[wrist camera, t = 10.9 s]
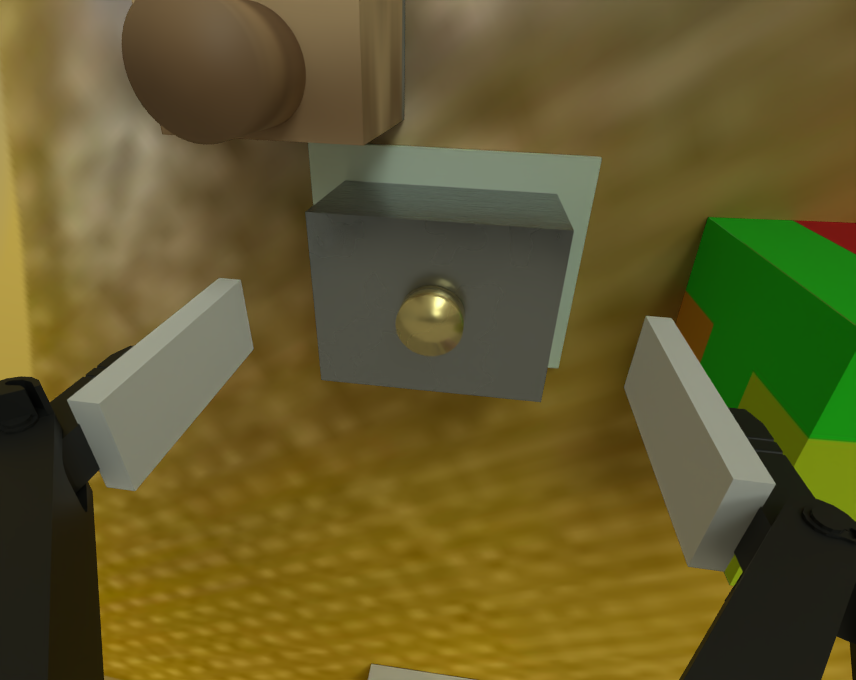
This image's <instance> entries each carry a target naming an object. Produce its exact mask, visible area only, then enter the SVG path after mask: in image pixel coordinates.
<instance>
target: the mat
mask: <svg viewBox="0 0 856 680" xmlns="http://www.w3.org/2000/svg"><path fill="white" fill-rule="evenodd" d="M308 150H309V162H310V173H311V185H312V196H313V205H315V204H316V203H317V202H318V201H320V200H321V199H322V198H323V197H325V196H326V195H327V194H328V193H330V192H331V191H332V190H333V189H335V188H336V187H337V186H339V185H340V184H341V183H342V182H344V181H361V182H377V183H393V184H409V185H425V186H440V187H456V188H472V189H488V190H504V191H520V192H536V193H551V194H557V195H558V197H559V199H560V201H561V203H562V206H563V208H564V210H565V212H566V214H567V216H568V219H569V221H570V223H571V225H572V227H573V229H574V234H573V239H572V244H571V249H570V254H569V259H568V265H567V270H566V275H565V280H564V285H563V290H562V296H561V301H560V306H559V311H558V316H557V321H556V327H555V332H554V337H553V342H552V347H551V352H550V358H549V363H548V367H549V368H559V363H560V358H561V353H562V348H563V343H564V339H565V334H566V329H567V324H568V319H569V314H570V310H571V305H572V300H573V295H574V290H575V286H576V281H577V276H578V271H579V266H580V261H581V257H582V252H583V247H584V242H585V237H586V233H587V228H588V223H589V218H590V213H591V208H592V204H593V199H594V194H595V189H596V184H597V180H598V175H599V170H600V165H601V160H602V158H601V157H597V156H579V155H561V154H543V153H525V152H508V151H490V150H472V149H454V148H437V147H419V146H401V145H383V144H365V145H364V146H360V145H343V144H325V143H308Z"/></svg>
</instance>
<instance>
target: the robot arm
mask: <svg viewBox="0 0 856 680" xmlns="http://www.w3.org/2000/svg"><path fill="white" fill-rule="evenodd" d="M253 349H254V348H253V343H252V337H251V332H250V327H249V321H248V316H247V311H246V305H245V300H244V295H243V289H242V284H241V280H237V279H226V278H218V279H217V280H216V281H215V282H213V283H212V284H211V285H210V286H208V287H207V288H206V289H205V290H203V291H202V292H201V293H200V294H198V295H197V296H196V297H195V298H193V299H192V300H191V301H190V302H188V303H187V304H186V305H185V306H183V307H182V308H181V309H180V310H178V311H177V312H176V313H175V314H173V315H172V316H171V317H170V318H168V319H167V320H166V321H165V322H163V323H162V324H161V325H160V326H158V327H157V328H156V329H155V330H153V331H152V332H151V333H150V334H148V335H147V336H146V337H145V338H143V339H142V340H141V341H140V342H138V343H137V344H136V345H135V346H129V347H127V348H125V349H123V350H120V351H118V352H116V353H114V354H112V355H110V356H109V357H108V358H107V359H105V360H104V361H103V362H101V363H100V364H99V365H98V366H97V368H94V369H92V370H91V371H90V372H89V373H87V374H86V377H82V378H81V379H80V380H78V381H77V382H76V383H74V384H73V385H72V386H71V387H69V388H68V389H67V390H65V391H64V392H63V393H62V394H60V395H59V396H58V397H56V398H55V399H54V400H53V401H51V402H49V400H48V398H47V396H46V394H45V392H44V390H43V388H42V386H41V384H40V382H39V380H37V379H35V378H32V377H14V378H8V379H4V380H1V381H0V680H104V672H103V656H102V639H101V623H100V607H99V590H98V574H97V557H96V541H95V525H94V508H93V492H92V489H91V487H90V485H89V483H88V481H89V480H90V479H91V478H92V477H93V476H94V475H95V474H96V472H97V471H98V470H99V471H100V473H101V476H102V478H103V480H104V482H105V484H106V487H110V488H117V489H125V490H132V491H136V490H137V488H138V487H139V486H140V485H141V484H142V482H143V481H144V480H145V479H146V478H147V476H148V475H149V474H150V473H151V472H152V470H153V469H154V468H155V467H156V466H157V464H158V463H159V462H160V461H161V460H162V458H163V457H164V456H165V455H166V454H167V452H168V451H169V450H170V449H171V448H172V446H173V445H174V444H175V443H176V442H177V440H178V439H179V438H180V437H181V436H182V434H183V433H184V432H185V431H186V430H187V428H188V427H189V426H190V425H191V424H192V422H193V421H194V420H195V419H196V418H197V416H198V415H199V414H200V413H201V412H202V410H203V409H204V408H205V407H206V406H207V404H208V403H209V402H210V401H211V400H212V398H213V397H214V396H215V395H216V394H217V393H218V391H219V390H220V389H221V388H222V387H223V385H224V384H225V383H226V382H227V381H228V379H229V378H230V377H231V376H232V375H233V373H234V372H235V371H236V370H237V369H238V367H239V366H240V365H241V364H242V363H243V361H244V360H245V359H246V358H247V357H248V355H249V354H250V353H251V352H252V351H253ZM624 389H625V392H626V395H627V398H628V400H629V403H630V406H631V409H632V411H633V414H634V417H635V420H636V423H637V425H638V428H639V431H640V434H641V437H642V439H643V442H644V445H645V448H646V451H647V453H648V456H649V459H650V462H651V465H652V467H653V470H654V473H655V476H656V479H657V481H658V484H659V487H660V490H661V493H662V495H663V498H664V501H665V504H666V507H667V509H668V512H669V515H670V518H671V521H672V523H673V526H674V529H675V532H676V535H677V537H678V540H679V543H680V546H681V549H682V551H683V554H684V557H685V560H686V562H687V565H688V567H695V568H702V569H709V570H717V571H725V570H726V568H727V566H728V564H729V563H730V561H731V559H732V558H733V556H734V554H735V556H736V558H737V560H738V563H739V565H740V567H741V569H742V571H743V572H742V574H741V575H740V577H739V579H738V580H737V582H736V583H735V585H734V587H733V588H732V590H731V591H730V593H729V595H728V596H727V598H726V599H725V602H724V604H723V606H722V608H721V609H720V611H719V613H718V614H717V616H716V618H715V620H714V621H713V623H712V625H711V626H710V628H709V630H708V631H707V633H706V635H705V637H704V638H703V640H702V642H701V643H700V645H699V647H698V649H697V650H696V652H695V654H694V655H693V657H692V659H691V660H690V662H689V664H688V666H687V667H686V669H685V671H684V672H683V674H682V676H681V678H680V679H679V680H821V678H822V675H823V673H824V670H825V667H826V664H827V661H828V658H829V656H830V653H831V650H832V647H833V644H834V641H835V639H836V636H837V637H839V638H842V639H844V640H847V641H849V642H850V652H851V665H852V677H853V680H856V521H854V520H853V519H852V518H851V517H850V516H849V515H848V514H846V513H845V512H843V511H842V510H840V509H838V508H837V507H835V506H834V505H831V504H829V503H826V502H824V501H822V500H819V499H815V497H814V496H813V494H812V493H811V491H810V490H809V489H808V487H807V486H806V484H805V483H804V481H803V480H802V478H801V477H800V476H799V474H798V473H797V471H796V470H795V468H794V467H793V466H792V464H791V463H790V461H789V460H788V458H787V457H786V455H783V451H782V450H781V448H780V447H779V445H778V444H777V443H776V442H774V438H773V437H772V435H771V434H770V433H769V431H768V430H767V428H766V427H765V425H764V424H763V423H762V422H761V421H759V420H758V419H757V418H756V417H754V416H753V415H752V414H751V413H749V412H748V411H747V410H746V409H738V408H729V407H727V405H726V404H725V402H724V401H723V399H722V398H721V396H720V394H719V393H718V391H717V390H716V388H715V386H714V385H713V383H712V382H711V380H710V378H709V377H708V375H707V374H706V372H705V370H704V369H703V367H702V366H701V364H700V363H699V361H698V359H697V358H696V356H695V355H694V353H693V351H692V350H691V348H690V347H689V345H688V343H687V342H686V340H685V339H684V337H683V335H682V334H681V332H680V331H679V329H678V327H677V326H676V324H675V323H674V321H673V320H672V318H665V317H654V316H646V317H645V320H644V323H643V327H642V330H641V333H640V336H639V340H638V343H637V346H636V349H635V353H634V356H633V359H632V362H631V366H630V369H629V372H628V376H627V379H626V382H625V385H624Z"/></svg>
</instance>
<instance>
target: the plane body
mask: <svg viewBox="0 0 856 680" xmlns="http://www.w3.org/2000/svg"><path fill="white" fill-rule="evenodd" d="M132 3H133V4H132V6H131V7H130V9H129V11H128V14H127V16H126V19H125V22H124V26H123V32H122V54H123V60H124V65H125V69H126V73H127V76H128V79H129V81H130V83H131V86H132V88H133V90H134V92H135V94H136V96H137V97H138V99H139V101H140V102H141V104H142V105H143V107H144V108H145V109H146V110H147V112H148V113H149V114H150V115H151V116H152V117H153V118H154V119H155V120H156V121H157V122H158V123H159V124H160V126H161V130H162V134H166V135H176V136H178V137H179V138H182V139H184V140H187V141H190V142H193V143H198V144H217V143H222V142H225V141H228V140H232V139H235V138H237V139H255V140H272V141H290V142H308V143H325V144H343V145H360V146H364V145H365V144H367V143H368V142H370V141H372V140H373V139H375V138H376V137H378V136H379V135H381V134H382V133H384V132H385V131H387V130H389V129H390V128H392V127H393V126H395V125H396V124H398V123H399V122H401V121H403V120H404V78H405V0H132Z"/></svg>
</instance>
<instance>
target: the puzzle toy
mask: <svg viewBox="0 0 856 680" xmlns="http://www.w3.org/2000/svg"><path fill="white" fill-rule="evenodd" d="M675 324H676V326H677V327H678V329H679V331H680V332H681V334H682V335H683V337H684V339H685V340H686V342H687V343H688V345H689V347H690V348H691V350H692V351H693V353H694V355H695V356H696V358H697V359H698V361H699V363H700V364H701V366H702V367H703V369H704V370H705V372H706V374H707V375H708V377H709V378H710V380H711V382H712V383H713V385H714V386H715V388H716V390H717V391H718V393H719V394H720V396H721V398H722V399H723V401H724V402H725V404H726V405H727V407H729V408H738V409H746V410H747V411H748V412H749V413H751V414H752V415H753V416H754V417H756V418H757V419H758V420H759V421H761V422H762V423H763V424H764V425H765V427H766V428H767V430H768V431H769V433H770V434H771V435H772V437H773V438H774V442H776V443H777V444H778V445H779V447H780V448H781V450H782V451H783V455H786V457H787V458H788V460H789V461H790V463H791V464H792V466H793V467H794V468H795V470H796V471H797V473H798V474H799V476H800V477H801V478H802V480H803V481H804V483H805V484H806V486H807V487H808V489H809V490H810V491H811V493H812V494H813V496H814V497H815V499H819V500H822V501H824V502H826V503H829V504H831V505H834V506H835V507H837V508H838V509H840V510H842V511H843V512H845V513H846V514H848V515H849V516H850V517H851V518H852V519H853V520H854V521H856V223H842V222H817V221H792V220H767V219H742V218H717V217H708V219H707V222H706V225H705V228H704V232H703V235H702V238H701V242H700V245H699V248H698V251H697V255H696V258H695V261H694V264H693V268H692V271H691V274H690V278H689V281H688V284H687V287H686V291H685V294H684V297H683V301H682V304H681V307H680V310H679V314H678V317H677V320H676V323H675ZM742 572H743V571H742V569H741V567H740V565H739V563H738V560H737V558H736V556H735V554H734V556H733V558H732V559H731V561H730V563H729V564H728V566H727V568H726V570H725V571H724V574H725V576H726V578H727V580H728V583H729V585H732V586H734V585H735V583H736V582H737V580H738V579H739V577H740V575H741V574H742Z"/></svg>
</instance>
